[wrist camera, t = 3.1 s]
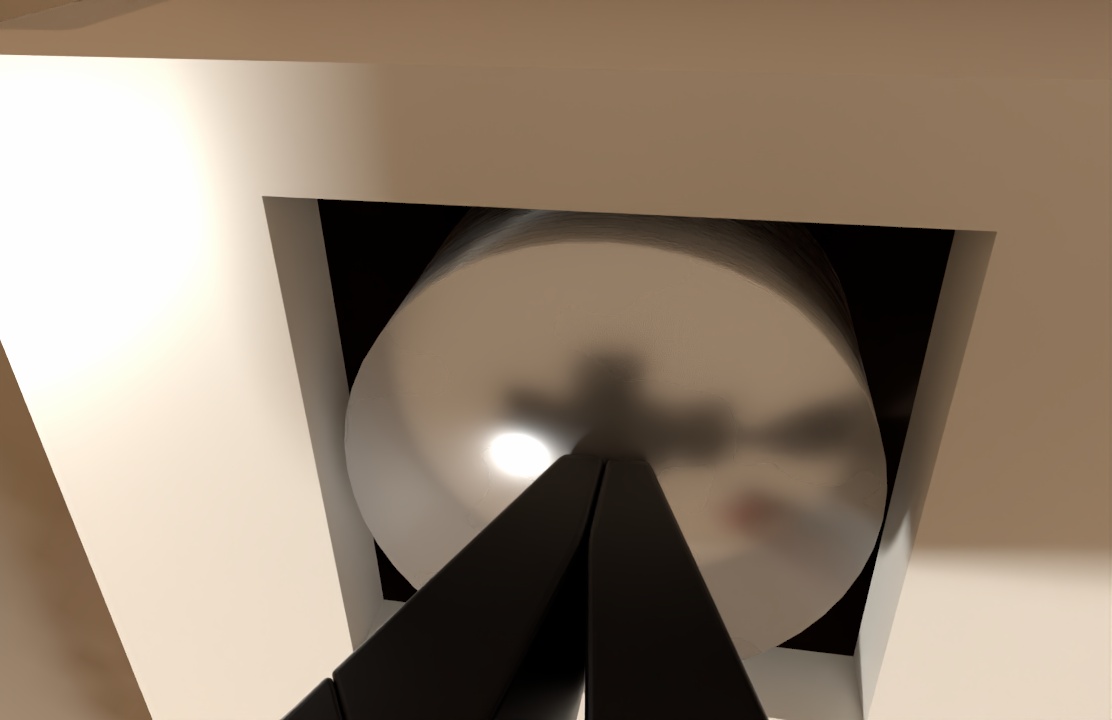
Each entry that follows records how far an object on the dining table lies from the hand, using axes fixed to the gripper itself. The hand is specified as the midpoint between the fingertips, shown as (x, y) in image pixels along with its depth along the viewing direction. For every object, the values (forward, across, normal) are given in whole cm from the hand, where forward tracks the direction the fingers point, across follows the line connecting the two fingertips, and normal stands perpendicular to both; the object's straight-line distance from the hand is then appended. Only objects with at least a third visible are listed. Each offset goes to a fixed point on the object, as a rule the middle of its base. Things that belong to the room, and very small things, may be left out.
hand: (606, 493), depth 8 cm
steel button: (+3, 0, 0) cm, 3 cm away
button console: (+4, 0, +4) cm, 6 cm away
